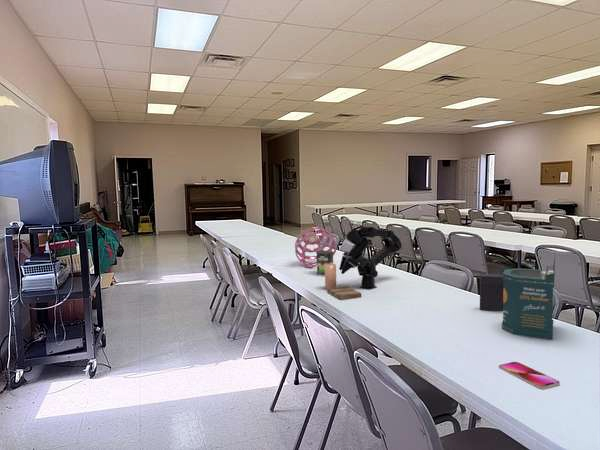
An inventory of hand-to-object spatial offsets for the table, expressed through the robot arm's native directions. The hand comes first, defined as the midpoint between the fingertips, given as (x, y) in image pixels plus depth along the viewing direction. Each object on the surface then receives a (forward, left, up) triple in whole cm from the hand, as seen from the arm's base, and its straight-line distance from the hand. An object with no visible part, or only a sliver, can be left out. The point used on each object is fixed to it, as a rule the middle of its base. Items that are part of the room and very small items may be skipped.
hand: (340, 271), depth 215 cm
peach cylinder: (+3, -5, -10) cm, 11 cm away
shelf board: (+6, +8, -10) cm, 14 cm away
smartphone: (+28, +105, -10) cm, 109 cm away
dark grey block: (-22, +70, -10) cm, 74 cm away
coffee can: (-18, -33, -10) cm, 39 cm away
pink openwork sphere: (-32, -57, -10) cm, 66 cm away
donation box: (-9, +89, -10) cm, 90 cm away
